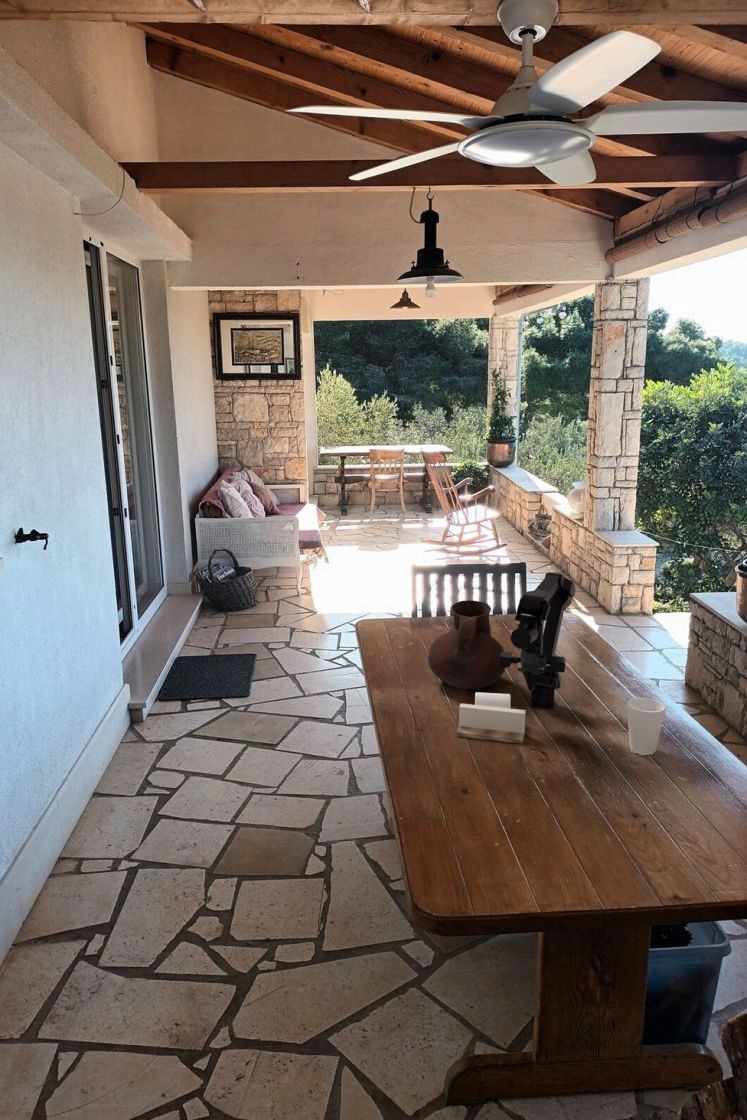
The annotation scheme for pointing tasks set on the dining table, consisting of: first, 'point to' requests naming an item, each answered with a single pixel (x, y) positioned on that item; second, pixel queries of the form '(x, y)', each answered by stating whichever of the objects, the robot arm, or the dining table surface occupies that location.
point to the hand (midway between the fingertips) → (530, 690)
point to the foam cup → (644, 724)
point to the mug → (493, 700)
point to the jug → (467, 649)
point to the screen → (491, 723)
